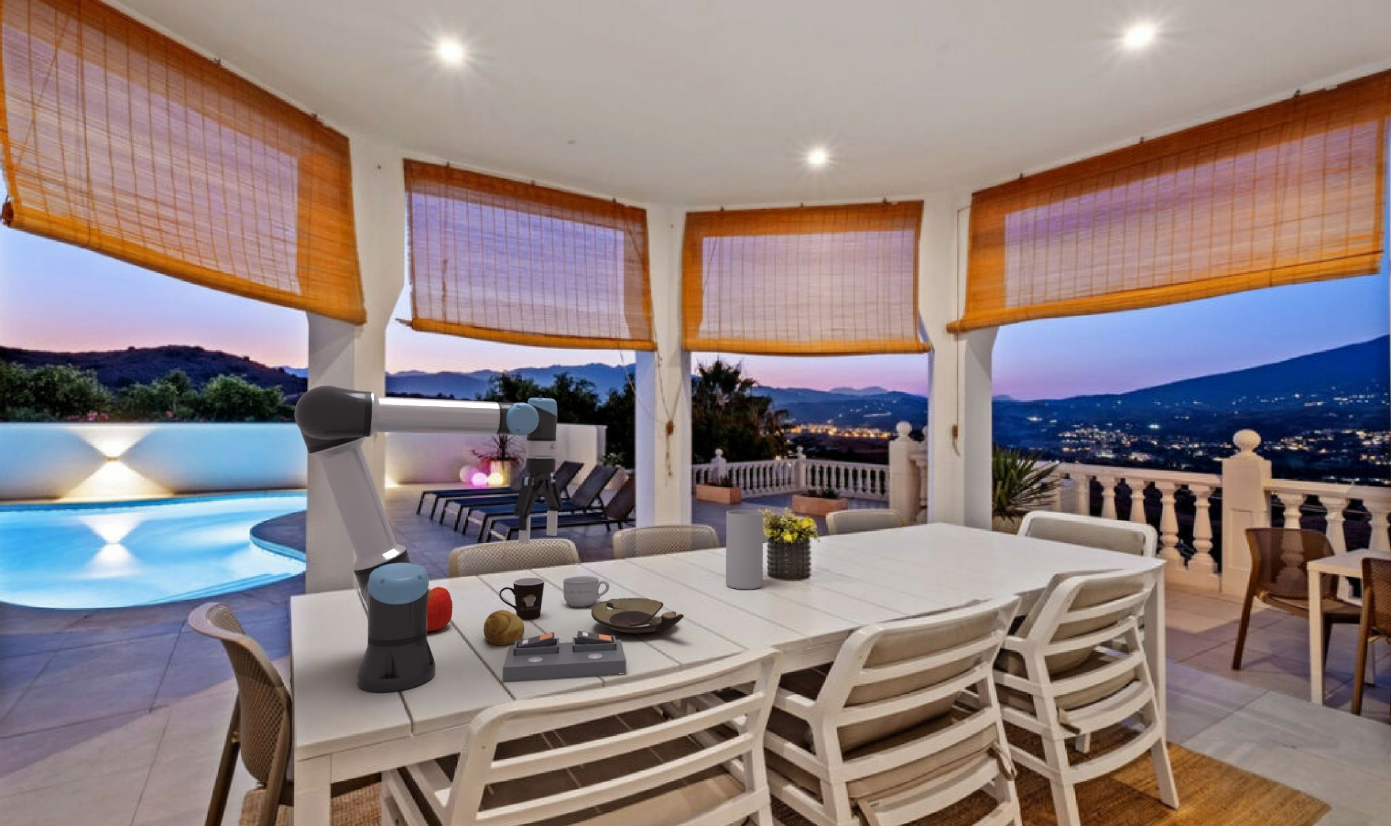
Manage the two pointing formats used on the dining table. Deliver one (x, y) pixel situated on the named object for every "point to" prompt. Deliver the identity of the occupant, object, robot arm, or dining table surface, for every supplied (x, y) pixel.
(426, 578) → the robot arm
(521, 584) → the coffee mug
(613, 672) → the rocker switch box
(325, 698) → the dining table surface
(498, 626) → the bread roll
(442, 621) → the tomato
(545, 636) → the left rocker
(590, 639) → the right rocker
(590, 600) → the teacup
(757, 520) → the cylinder vase
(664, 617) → the oil lamp
